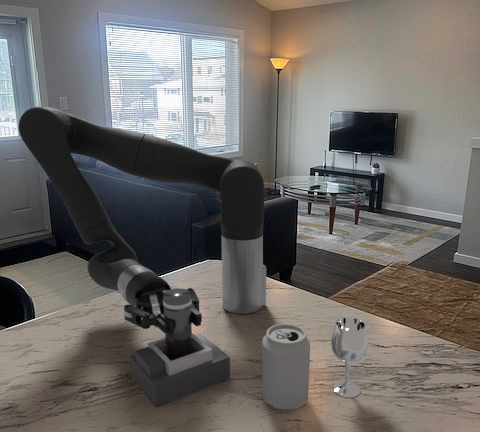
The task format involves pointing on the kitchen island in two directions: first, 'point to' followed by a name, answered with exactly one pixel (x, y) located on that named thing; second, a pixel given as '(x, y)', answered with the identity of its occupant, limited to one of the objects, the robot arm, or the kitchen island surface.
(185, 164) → the robot arm
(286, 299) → the kitchen island surface
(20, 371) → the kitchen island surface
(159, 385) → the tray on grey base
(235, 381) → the kitchen island surface
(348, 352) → the wineglass
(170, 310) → the thermos
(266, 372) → the can
